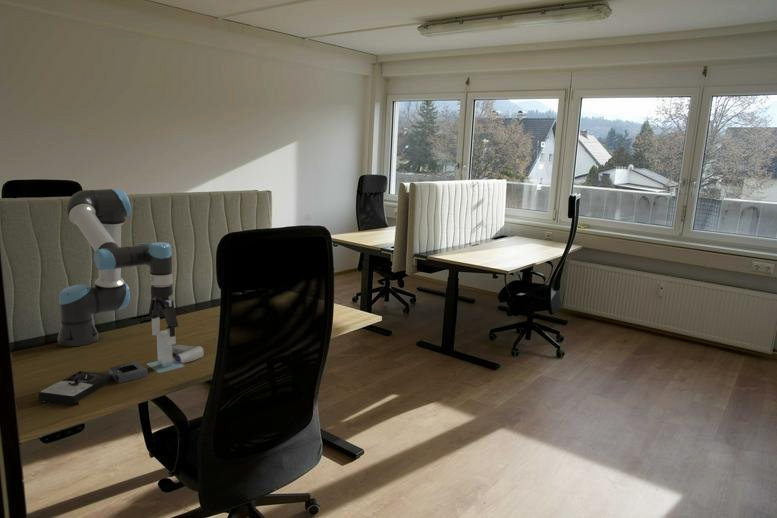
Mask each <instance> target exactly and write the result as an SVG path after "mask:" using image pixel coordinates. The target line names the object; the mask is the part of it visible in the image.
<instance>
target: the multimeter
mask: <svg viewBox="0 0 777 518" xmlns="http://www.w3.org/2000/svg"><path fill="white" fill-rule="evenodd" d="M113 380H114V379H113V376H112V375H110V374H109V373H103V372H102V373H101V372H93V371H83V370H80V371H77V372H75V373H74V374H71V375H69V376H67V377H66V378H63V379H62V380H60V381H58V382H55V383H54V384H53V385H50V386H48V387H46V388H44V389H42V390H41V391H40V392H39V393H38V400H40V401H45V402H50V403H49V404H52V403H56V404H55V405H60V404H63V406H68V405H69V406H70V407H75V406H77V405H79V402H80V401H81V400H83V399H84V398H86V397H87V396H90V395H91V394H93V393H94V392H96V391H97V390H99V389H101V388H103V387H104V386H106V385H108V384H109V383H112V382H113ZM40 401H39V402H40Z"/></svg>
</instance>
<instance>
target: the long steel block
mask: <svg viewBox="0 0 777 518" xmlns="http://www.w3.org/2000/svg"><path fill="white" fill-rule="evenodd" d="M155 336H156V349H157V350H156V352H157V353H156V354H157V361H158V365H159V366H161V367H162V368H164V367H168V366H172V365H173V359H174V357H173V353H172V346H173V345H168V340H167V329H164V330H160V331H159V332H156V335H155Z"/></svg>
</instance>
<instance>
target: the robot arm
mask: <svg viewBox="0 0 777 518" xmlns="http://www.w3.org/2000/svg"><path fill="white" fill-rule="evenodd" d="M131 207H132V205H131V203H130V199H129V196H128V194H127V193H126V192H125V191H124V190H122V189H119V188H118V189H117V188H115V189H113V188H108V189H102V188H101V189H83V190H79V191H77V192H75V193H74V194H72V196H70V197H69V199H68V200H67V203H66V206H65V213H66V216H67V217H68V219H69V221H70V222H71V223H72V224H73V225H76V226H77V227H78V229H79V230H80V232H81V233H82V235H83V236H84V237H85V239H86V241H87V242H88V243H89V245H90V246H91V247H92V249H93V250H94V254H93V263H95V267H96V268H97V269H98V278H97V279H96V280H94V286H92V287H91V286H90V285H89V284H85V283H84V284H83V283H82V284H75V285H70V286H67V287H65V288H63V289H62V290H61V291H60V292H59V295H58V304H59V313H60V329H59V332H58V336H57V345H59V346H62V347H79V346H80V347H81V346H87V345H90V344H93V343H95V342H97V341H98V340H99V332H98V330H97V328H96V326H95V323H94V322H93V315H98V314H103V313H104V314H105V313H109V312H116V311H117V312H118V311H121V310H123V309H126V307H127V306H128V305H129V304H130V303H129V302H130V299H131V291H130V287H129V285H128V284H127V283H126V282H125V280H124V278H122V271H121V269H123V268H132V267H141V266H149V274H150V275H149V276H150V277H149V278H148V279H149V280H150V297H151V298H150V299H151V300H150V305H149V309H148V310H149V311H148V315H149V316H150V319H151V330H152V331H151V333H152V334H151V335H152V336H156V332H159V331H161V322H160V321H161V320H160V319H161V318H160V317H161V315H160V313H163V316H164V320H165V322H166V324H167V327H166V330H167V340H168V345H172V346H174V345H177V341H176V340H177V338H176V328H178V327H179V324H178V318H177V315H176V311H175V305H174V304H175V303H174V300H170V298H169V297H170V296H172V295H173V294H174V293H173V292H174V291H173V290H174V288H173V282H174V280H173V268H172V267H173V264H172V262H173V260H172V257H173V256H172V254H173V252H172V246H171V244H170V243H169V242H161V241H158V242H152V243H145V242H141V243H138V244H136V245H131V246H130V245H129V246H122V226H123V225H124V224H125V223H126V218H129V216H131V214H132V208H131Z"/></svg>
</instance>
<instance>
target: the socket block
mask: <svg viewBox="0 0 777 518" xmlns="http://www.w3.org/2000/svg"><path fill="white" fill-rule="evenodd" d="M148 369H149V368H146V367H145V366H144V365H142V363H139V362H138V361H134V362H129V363H124V364H121V365H116V366H111V367H109V368H108V374H110V375H112V376H113V380H114V381H116V382H117V383H118V384H122V383H126V382H130V381H134V380H137V379H138V380H139V379H142V378H146V377H148V376H149V371H148Z"/></svg>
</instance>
